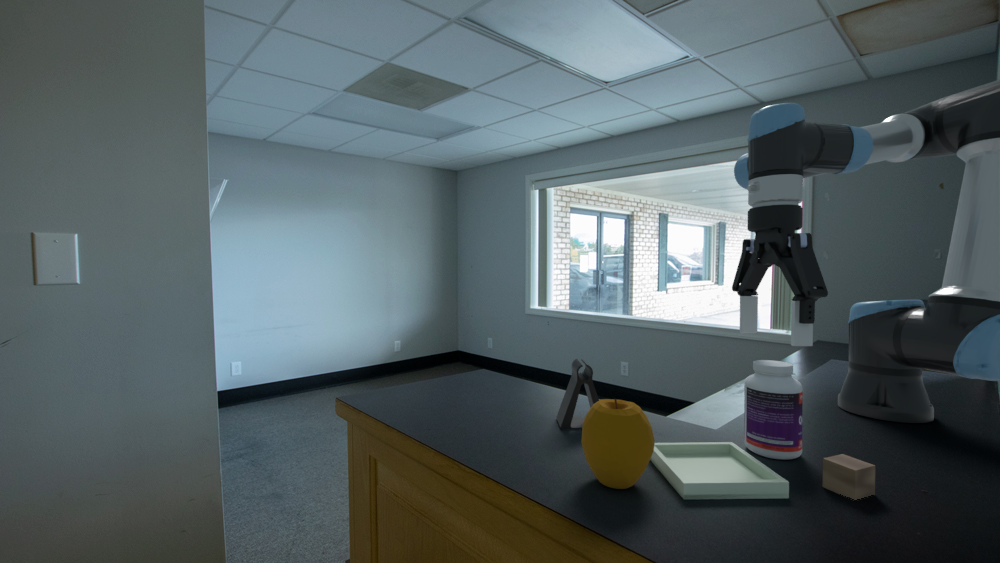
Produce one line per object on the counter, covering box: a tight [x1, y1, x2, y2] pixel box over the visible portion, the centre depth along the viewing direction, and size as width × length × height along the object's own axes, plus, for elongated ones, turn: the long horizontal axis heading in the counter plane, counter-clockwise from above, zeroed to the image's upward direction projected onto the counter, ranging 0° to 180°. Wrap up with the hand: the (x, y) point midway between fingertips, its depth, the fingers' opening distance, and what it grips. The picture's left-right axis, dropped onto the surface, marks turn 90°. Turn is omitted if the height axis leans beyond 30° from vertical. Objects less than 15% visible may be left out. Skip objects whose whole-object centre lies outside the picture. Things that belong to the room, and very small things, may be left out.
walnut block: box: [822, 453, 876, 501], centre depth 60 cm, size 4×4×4 cm
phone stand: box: [556, 358, 600, 430], centre depth 86 cm, size 9×6×12 cm, turn 90°
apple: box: [581, 397, 656, 490], centre depth 62 cm, size 10×10×12 cm
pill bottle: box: [743, 359, 804, 460], centre depth 73 cm, size 8×8×14 cm
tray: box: [650, 441, 790, 500], centre depth 65 cm, size 14×14×2 cm
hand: (772, 339), depth 73 cm, fingers open, 13 cm apart
